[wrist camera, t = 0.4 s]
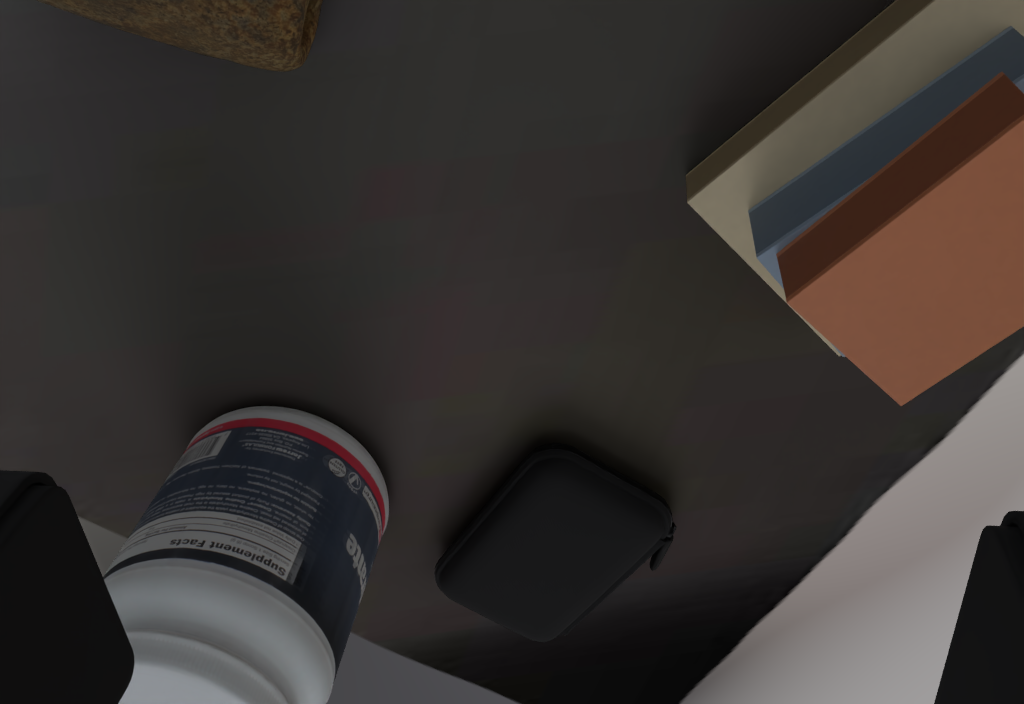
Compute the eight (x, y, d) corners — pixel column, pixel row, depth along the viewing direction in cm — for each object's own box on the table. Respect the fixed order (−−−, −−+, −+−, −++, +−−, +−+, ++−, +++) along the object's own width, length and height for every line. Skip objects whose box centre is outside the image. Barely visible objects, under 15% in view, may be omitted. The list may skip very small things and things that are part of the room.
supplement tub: (381, 569, 62) (292, 845, 47) (191, 523, 62) (40, 784, 47) (409, 423, 54) (314, 694, 39) (194, 369, 54) (15, 621, 39)
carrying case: (565, 632, 63) (701, 503, 55) (561, 670, 60) (704, 541, 52) (428, 561, 61) (549, 417, 53) (418, 597, 58) (543, 452, 50)
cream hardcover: (980, -71, 37) (1004, -56, 34) (1126, 124, 40) (1157, 151, 38) (685, 175, 44) (686, 202, 41) (829, 323, 47) (839, 356, 45)
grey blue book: (1011, 25, 36) (1050, 59, 32) (1088, 143, 38) (1134, 188, 34) (747, 210, 41) (756, 257, 38) (828, 304, 43) (843, 357, 40)
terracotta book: (1001, 70, 32) (1038, 108, 29) (1110, 192, 34) (1156, 240, 31) (775, 254, 37) (786, 302, 34) (881, 352, 39) (900, 406, 36)
